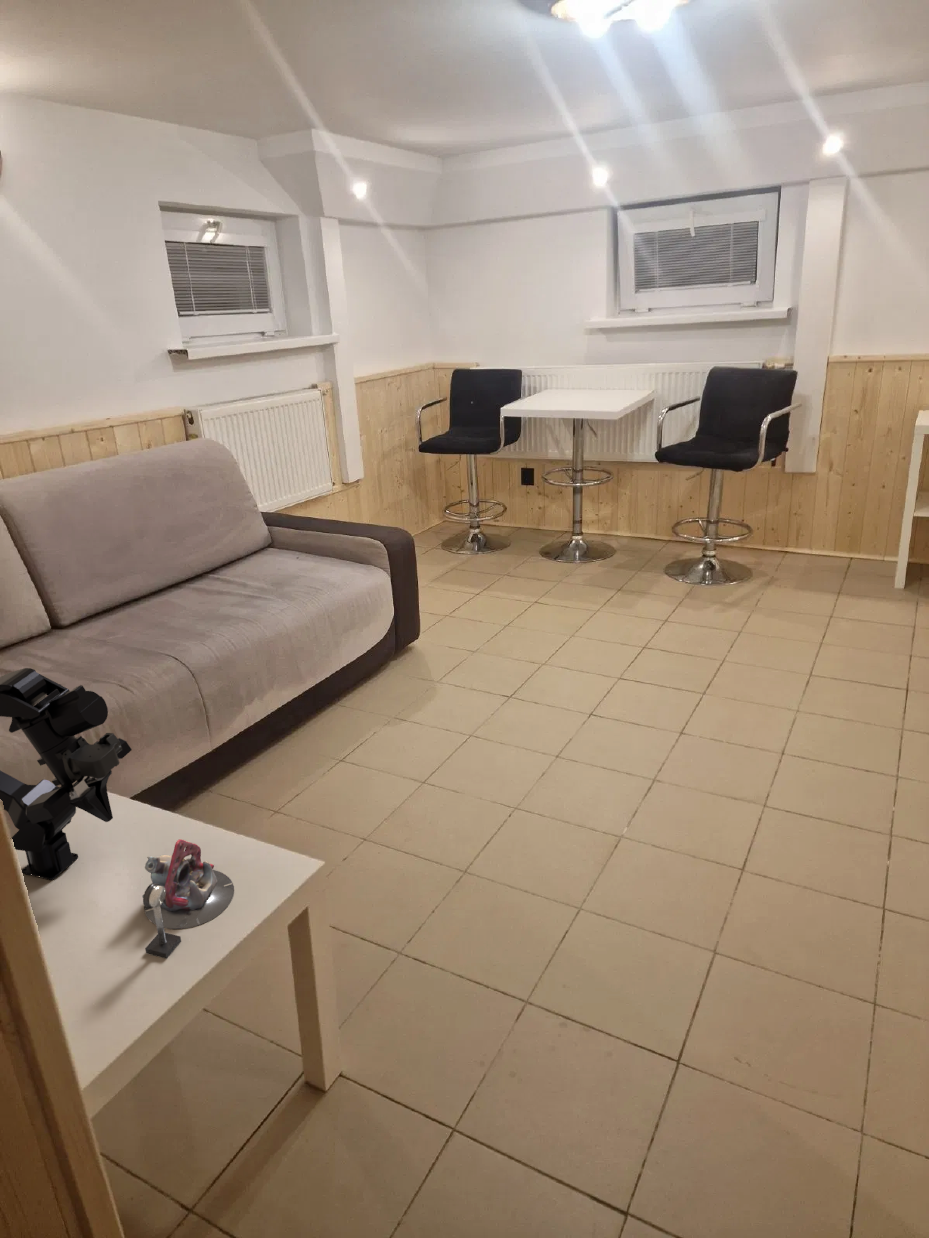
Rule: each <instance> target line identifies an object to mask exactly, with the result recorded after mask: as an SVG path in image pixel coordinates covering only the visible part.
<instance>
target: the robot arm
mask: <svg viewBox="0 0 929 1238" xmlns="http://www.w3.org/2000/svg"><path fill="white" fill-rule="evenodd" d="M108 712H109V710H108V706H107V703H106V700H105V699H104V698H103V696H101V695H99V694H98V693H97V692H95V691H93V690H86V689H85V687H84V686H83V685H81V684H80V685H78V686H76V687H74V688H73V689H71V690H70V689H69V688H67V687H65V686H63V685H62V684H59V683H58V682H55V681H54V680H52V679H50V678H48V677H46V676H44V675H42V674H40V673H38V672H37V671H36V670H35V669H34V668H31V667H25V668H21V669H18V670H17V669H16V670H15V671H11V672H9V673H5V674H4V675H1V676H0V717H1V718H2V717H3V718H11V722H10V725H9V728H8V732H9V733H10V734H12V733H15V732H18V731H19V730H20V731H22V732H23V734H24V736H26V738H27V740H28V741H29V742H30V744H31V745H32V747H33V748H34V750H35V751H36V752H37V754H38V755H39V756H40V757H39V758H38V759H37V760H36V761H37V763H38V764H39V765H40V766H43V765H46V766H47V768H48V769H49V771H50V773H52V775H53V776H54V779H52V781H50V780H48V779H41V780H40V781H39V782H38V783H37V784H27V783H25V782H23V781H21V780H19V779H17V778H15V777H13V776H11V775H10V774H7V773H6V772H4V771H2V770H1V769H0V799H1V800H2V801H3V805H4V809H3V810H4V811H5V812H7V813H8V816H9V817H10V820H11V822H12V824H13V825H14V827H15V828H16V829H17V831H16V833H14V835H13V836H12V837H11V838H12V839H13V842H14V846H13V848H14V847H15V848H14V850H16V851H22V852H23V851H24V852H25V855H26V860H27V865H26V866H24V867H23V868H22V869H21V873H22V874H24V875H28V876H32V875H33V876H32V877H36V876H40V877H43V878H42V879H44V878H45V879H46V880H48V879H49V881H52V879H53V880H55V879H56V878H57V877H58V876H59V875H61V873H63V872H64V871H65V870H66V869H67V868H68V867H70V865H72V864H73V863H74V862H75V861H76V860H77V859H79V854H78V853H74V852H72V850H71V847H70V846H71V845H70V842H69V841H68V838H67V833H66V832H64V831H63V829H64V828H66V826H68V825H69V824H70V823H71V822H72V819H73V817H74V816H75V815H76V813H77V809H80V810H83V811H84V812H86V813H88V814H90V815H92V816H94V817H95V818H97V819H99V820H101V821H103V822H105V823H109V822H110V821H112V820H113V817H114V816H113V812H112V808H111V802H110V800H109V794H108V788H107V786H108V785H107V784H108V781H109V778H110V776H112V774H113V771H112V770H113V769H114V768H115V767H117V766H119V764H120V760H121V759H122V760H123V759H124V758H125V756H127V755H128V754H129V753H130V752H131V751H132V746H130V744H129V742H128V741H127V740H125V739H123V738H121V737H117V736H116V735H115V733H114V732H106V733H105V734H104V735H102V736H101V737H100V738H99V740H98V741H96V742H94V743H92V744H90V743H89V742H88V741H87V740H86V739H85V738H84V737H82V735H79V734H81V733H84V732H86V731H88V730H91V729H94V728H97V727H98V726H101V725H103V724H104V723H105V722H106V721H107V718H108V715H109V714H108ZM77 735H79V736H77ZM76 736H77V737H76ZM59 786H60V787H59ZM30 874H32V875H30ZM40 877H39V878H40Z"/></svg>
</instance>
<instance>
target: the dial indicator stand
mask: <svg viewBox="0 0 929 1238" xmlns="http://www.w3.org/2000/svg"><path fill="white" fill-rule="evenodd" d="M143 895H144V897H142V902H143V903H142V904H143V905H144V906H145V907H149V908H152V907H153V910H154V916H155V921H156V926H155V927H156V931H157V934H156V936H155V937H154V938H152V939H151V941H150V942H149V943H148V944H147V945H146V947H145V954H147V955H150V956H155V957H158V958H162V959H166V960H167V959H168V958H169V957H170V956H171V955H172V953H173V952H174V951H175V950H176V949H177V947H178V946H179V945H180V944H181V942H182V939H181V935H177V934H171V933H169V932H168V933H167V932H166V931H165V930H166V929H165V928H164V925H163V919H162V913H161V908H160V905H161V904H162V903H163V901H164V899H165V895H166V890H165V888H164V887H163V886H160V885H159V884H157V883H150V884H148V886H147V887H146V889H145V891H144V894H143Z"/></svg>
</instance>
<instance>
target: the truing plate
mask: <svg viewBox="0 0 929 1238" xmlns="http://www.w3.org/2000/svg"><path fill="white" fill-rule="evenodd" d="M212 870H213V872H214V874H215V876H216V879H217V883H216V886H215V888H214V889H213V891H212V893H211V894H210V895H209V896H208V898H207V900H206V901H205V903H204V904H203V906H202V907H201V908H198V909H195V910H191V909H178V910H176V911H167V910H165V909H163V908H162V907H161V906H160V908H161V913H162V919H163V925H164V929H169V930H183V929H190V928H194V927H197V926H200V925H204V924H207V923H208V922H209V921H212V920H213V919H215V918H217V917H218V916H219V915H220V914H222V913H223V912H224V911H226V909H227V908H228V907H229V906H230V904H231V902H232V900H233V898H234V895H235V886H234V883H233V881H232V879H231V878H230V877H229V876H228V875H226V874H225V873H223V872H221V871H219V870H217V869H212ZM143 909H144V914H145V916H146V918H147V920H149V921H150V923H152V924H153V925H156V921H155V916H154V910H153V907H152V908H149V907H145V906H144V907H143Z"/></svg>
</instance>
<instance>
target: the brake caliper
mask: <svg viewBox="0 0 929 1238" xmlns="http://www.w3.org/2000/svg"><path fill="white" fill-rule="evenodd" d="M173 848H174V849H173V852H172V854H171V855H164V854H162V855H159V856H151V855H150V856H147V857H146V858H147V861H146V862H145V864H144V865H145V866H144V869H145V870H146V872H147V873H149V874H150V879H151V882H152V883H157V884H159V885H160V886H163V887H164V888H165V890H166V895H165V899H164V901H163V903H162V904H161V905H160V906H161V907H162V908H163V909H165V910H167V911H176V910H178V909H191V910H195V909H198V908H201V907H202V906H203V904H204V903H205V901H206V900H207V898H208V896H209V895H210V894H211V893H212V891H213V889H214V888H215V886H216V883H217V879H216V876H215V874H214V872H213V870H214V868H215V864H212V863H210V862H208V861H207V860H204V861H203V862H202V859H201V857H202V856H201V855H202V850H201V849H202V848H201V847H200V846H199V845H198V844H196V843H193V842H189V841H187V840H184V839H178V840H176V842H175V844H174V847H173ZM190 855H191V856H190ZM189 856H190V858H186V857H189ZM152 883H151V884H152ZM143 897H144V894H143V895H142V898H143Z"/></svg>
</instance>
